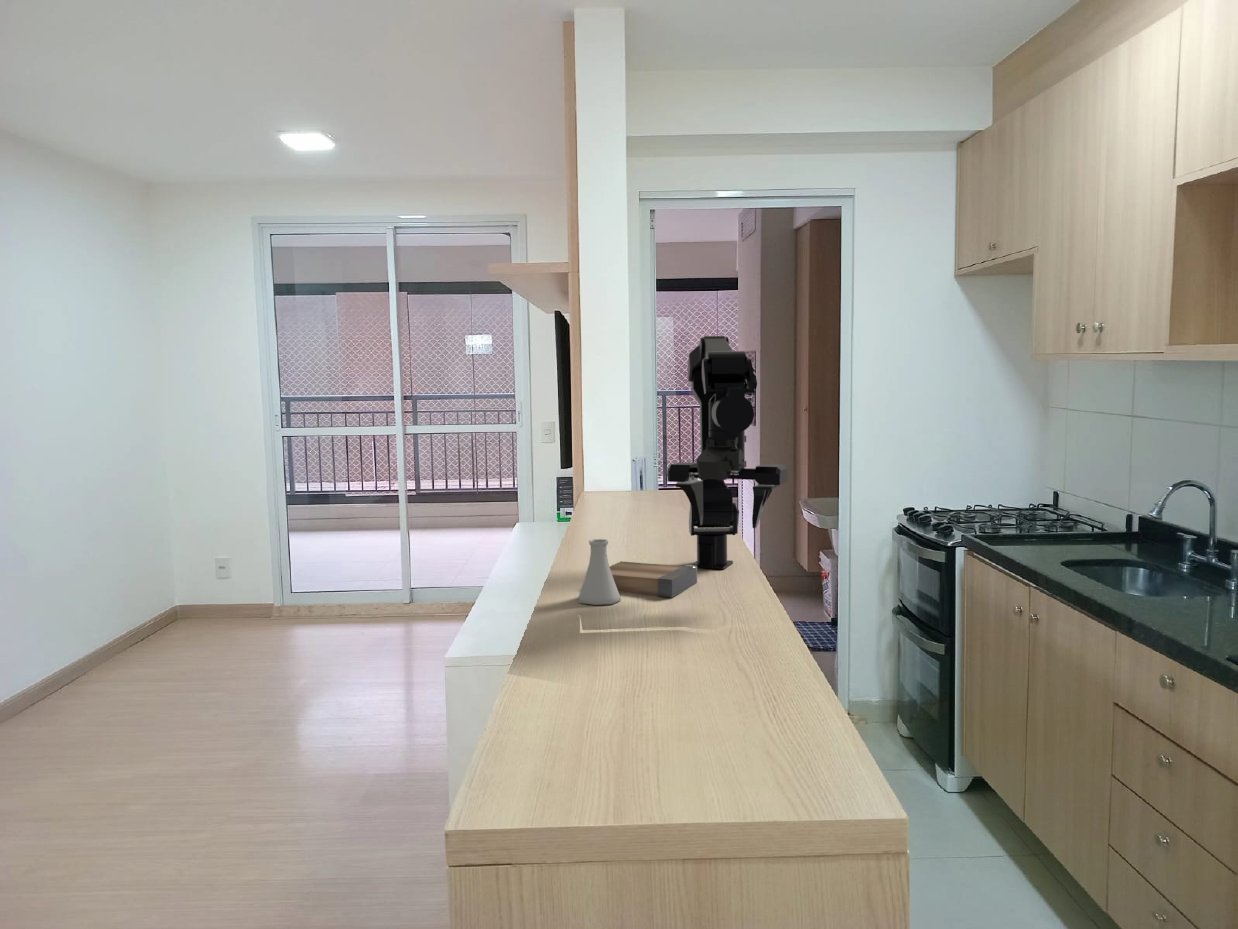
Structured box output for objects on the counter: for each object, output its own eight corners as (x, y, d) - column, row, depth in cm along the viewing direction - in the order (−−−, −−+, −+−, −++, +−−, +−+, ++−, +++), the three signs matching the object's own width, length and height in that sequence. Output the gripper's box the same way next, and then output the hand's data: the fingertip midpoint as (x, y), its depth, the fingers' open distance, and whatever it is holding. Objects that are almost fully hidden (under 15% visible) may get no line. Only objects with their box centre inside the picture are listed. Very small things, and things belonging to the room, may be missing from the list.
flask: (616, 607, 136) (615, 544, 135) (572, 605, 137) (571, 544, 136) (625, 596, 143) (624, 537, 142) (583, 595, 144) (582, 536, 143)
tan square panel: (621, 577, 157) (621, 561, 157) (682, 583, 152) (682, 566, 151) (594, 590, 147) (593, 573, 147) (658, 596, 142) (658, 579, 142)
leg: (686, 581, 152) (686, 564, 152) (699, 582, 151) (699, 565, 151) (658, 596, 141) (657, 578, 141) (672, 597, 140) (671, 579, 140)
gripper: (653, 432, 134) (654, 530, 135) (770, 433, 126) (770, 537, 128) (679, 429, 144) (680, 520, 146) (788, 429, 136) (788, 526, 138)
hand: (727, 526), depth 139 cm, fingers open, 9 cm apart
